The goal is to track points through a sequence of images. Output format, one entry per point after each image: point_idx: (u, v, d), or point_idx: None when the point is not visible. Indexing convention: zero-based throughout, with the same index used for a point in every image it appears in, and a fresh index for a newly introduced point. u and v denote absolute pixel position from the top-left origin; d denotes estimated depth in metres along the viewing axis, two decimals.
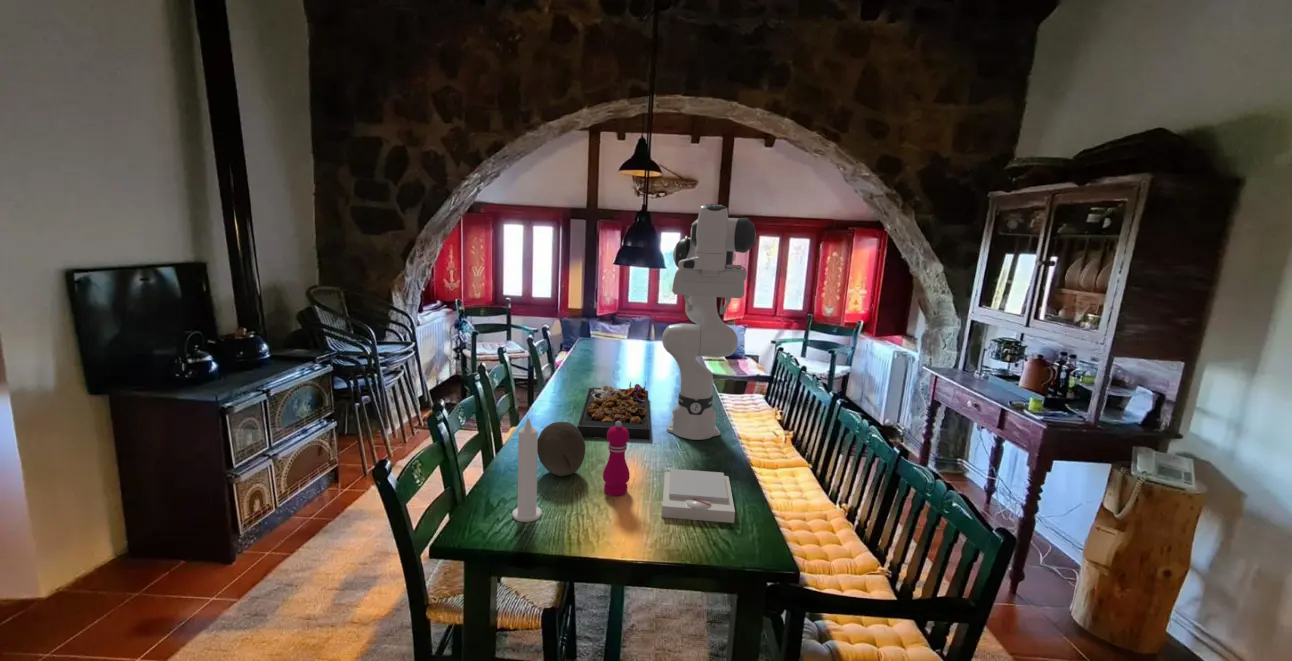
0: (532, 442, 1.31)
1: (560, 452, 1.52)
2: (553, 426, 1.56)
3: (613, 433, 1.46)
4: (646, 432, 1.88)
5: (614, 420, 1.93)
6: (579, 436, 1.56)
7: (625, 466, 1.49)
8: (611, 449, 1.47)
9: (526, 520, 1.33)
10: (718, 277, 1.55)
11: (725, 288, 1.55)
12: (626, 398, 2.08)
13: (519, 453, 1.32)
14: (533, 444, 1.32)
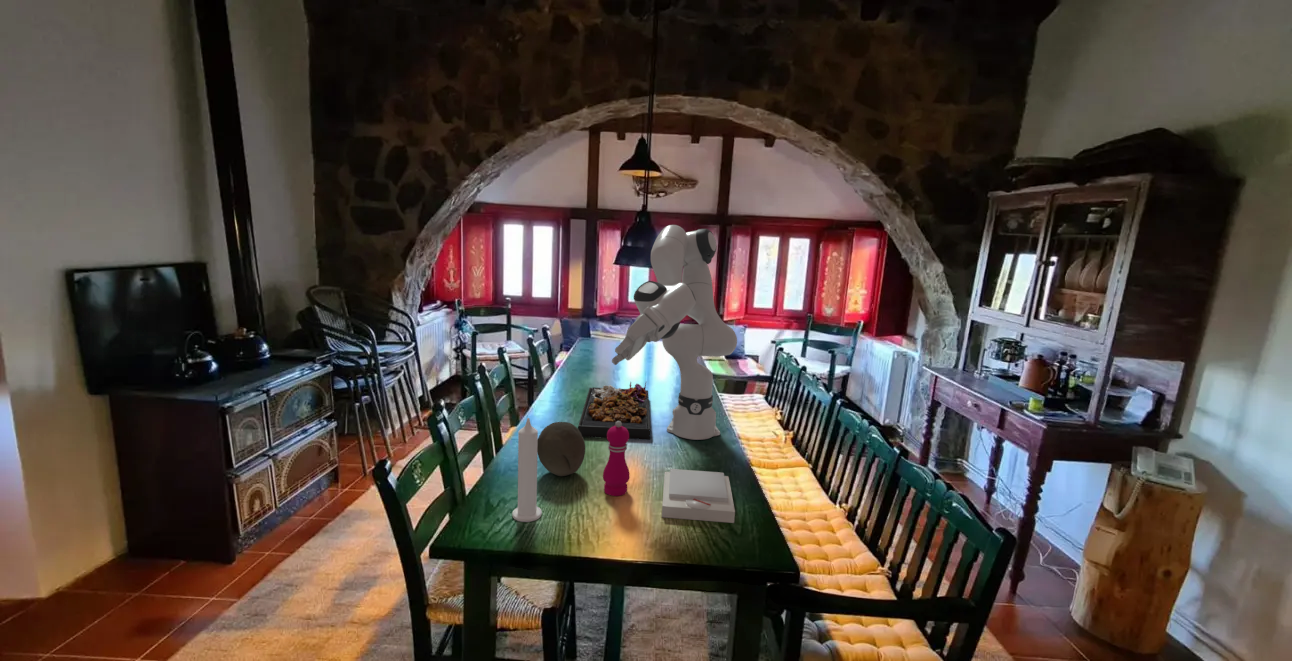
0: (532, 442, 1.31)
1: (560, 452, 1.52)
2: (553, 426, 1.56)
3: (613, 433, 1.46)
4: (647, 432, 1.88)
5: (614, 420, 1.93)
6: (579, 436, 1.56)
7: (625, 466, 1.49)
8: (611, 449, 1.47)
9: (526, 520, 1.33)
10: (644, 341, 1.56)
11: (636, 350, 1.57)
12: (626, 398, 2.08)
13: (519, 453, 1.32)
14: (533, 444, 1.32)
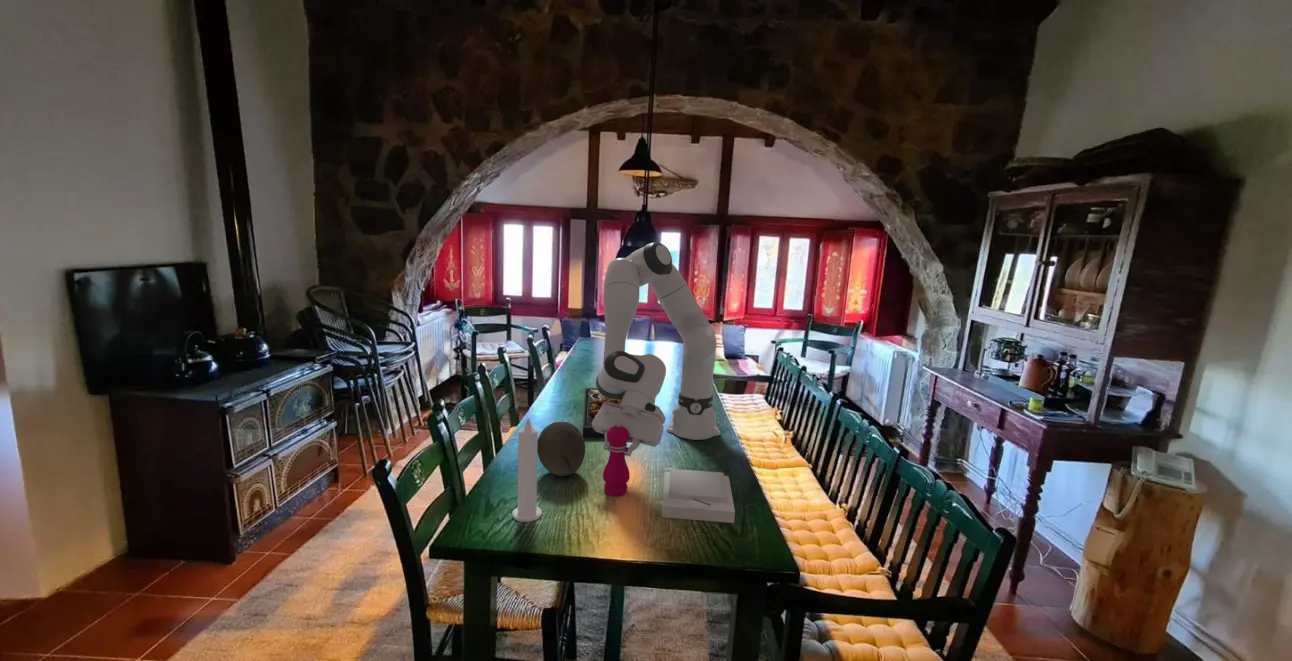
0: (532, 442, 1.31)
1: (560, 452, 1.52)
2: (553, 426, 1.56)
3: (613, 433, 1.46)
4: None
5: None
6: (579, 436, 1.56)
7: (625, 466, 1.49)
8: (611, 449, 1.47)
9: (526, 520, 1.33)
10: None
11: None
12: None
13: (519, 453, 1.32)
14: (533, 444, 1.32)
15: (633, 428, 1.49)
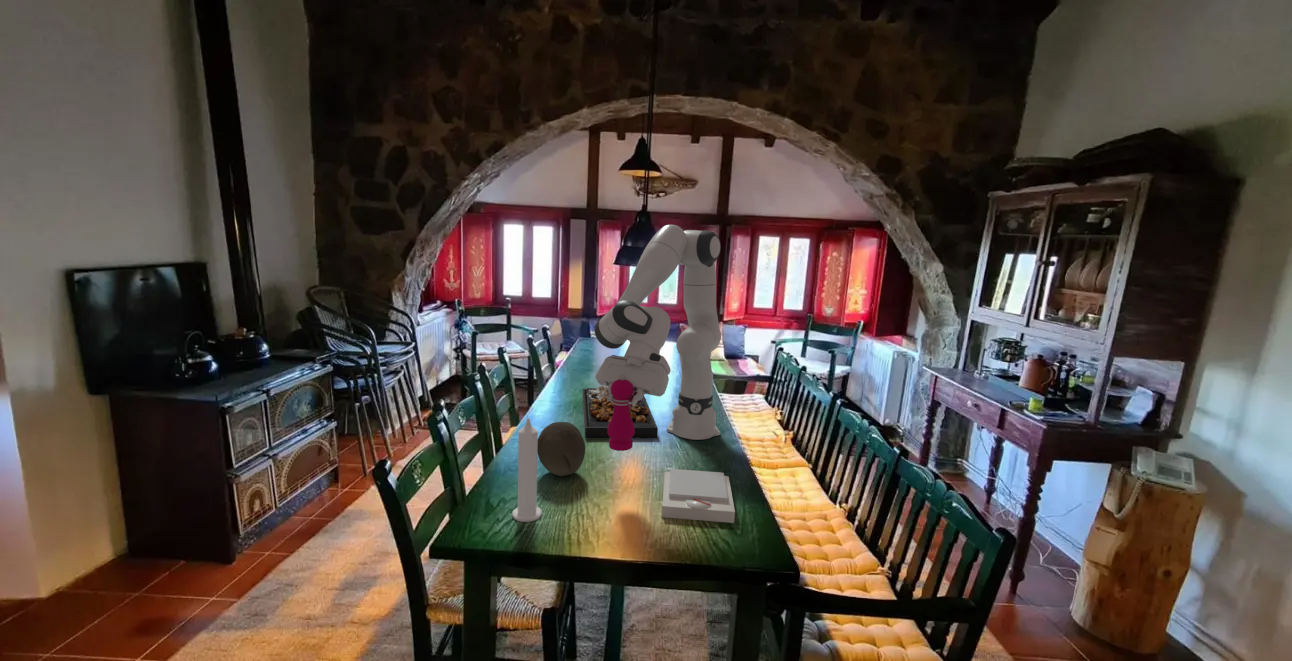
0: (532, 442, 1.31)
1: (560, 452, 1.52)
2: (553, 426, 1.56)
3: (617, 386, 1.43)
4: (654, 430, 1.90)
5: None
6: (579, 436, 1.56)
7: (630, 420, 1.46)
8: (615, 403, 1.45)
9: (526, 520, 1.33)
10: None
11: None
12: None
13: (519, 453, 1.32)
14: (533, 444, 1.32)
15: (637, 378, 1.47)
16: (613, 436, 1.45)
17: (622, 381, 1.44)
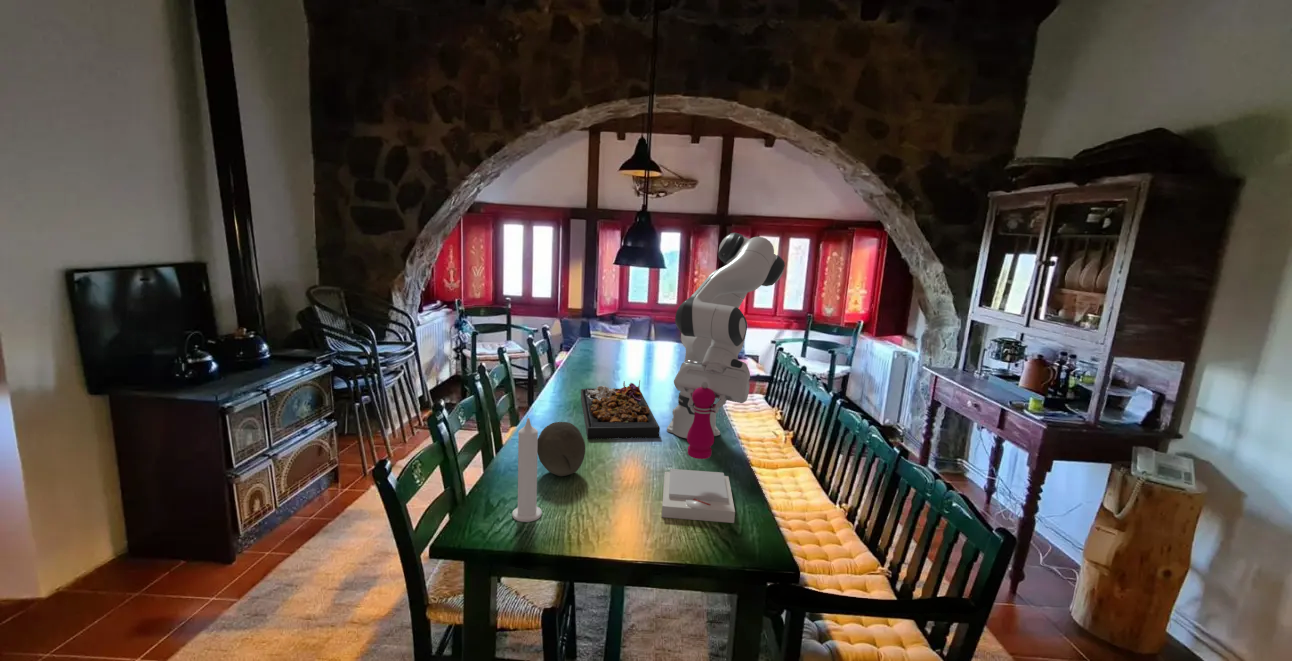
0: (532, 442, 1.31)
1: (560, 452, 1.52)
2: (553, 426, 1.56)
3: (700, 394, 1.42)
4: (656, 430, 1.90)
5: (622, 420, 1.93)
6: (579, 436, 1.56)
7: (710, 428, 1.46)
8: (697, 411, 1.44)
9: (526, 520, 1.33)
10: None
11: None
12: (627, 397, 2.09)
13: (519, 453, 1.32)
14: (533, 444, 1.32)
15: (719, 384, 1.46)
16: (694, 444, 1.44)
17: (705, 389, 1.43)
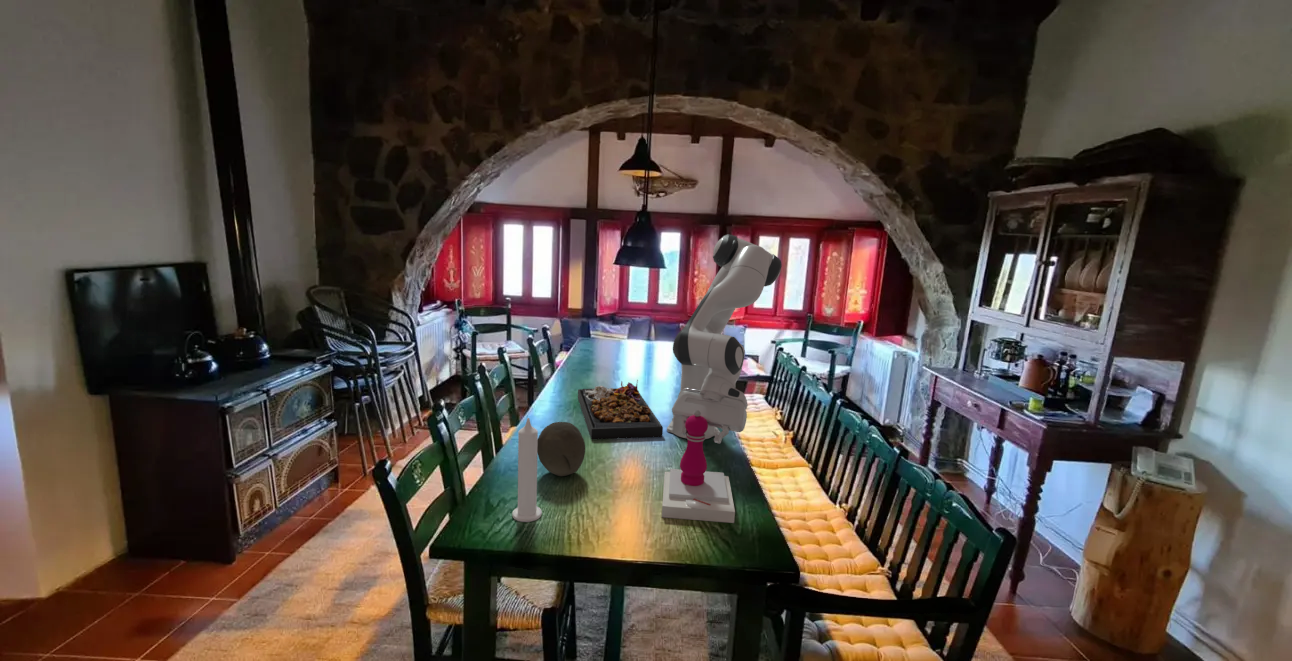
0: (532, 442, 1.31)
1: (560, 452, 1.52)
2: (553, 426, 1.56)
3: (693, 422, 1.45)
4: (659, 430, 1.91)
5: (625, 420, 1.93)
6: (579, 436, 1.56)
7: (703, 456, 1.48)
8: (690, 439, 1.46)
9: (526, 520, 1.33)
10: None
11: None
12: (627, 397, 2.09)
13: (519, 453, 1.32)
14: (533, 444, 1.32)
15: (716, 413, 1.47)
16: (687, 471, 1.46)
17: (697, 418, 1.46)
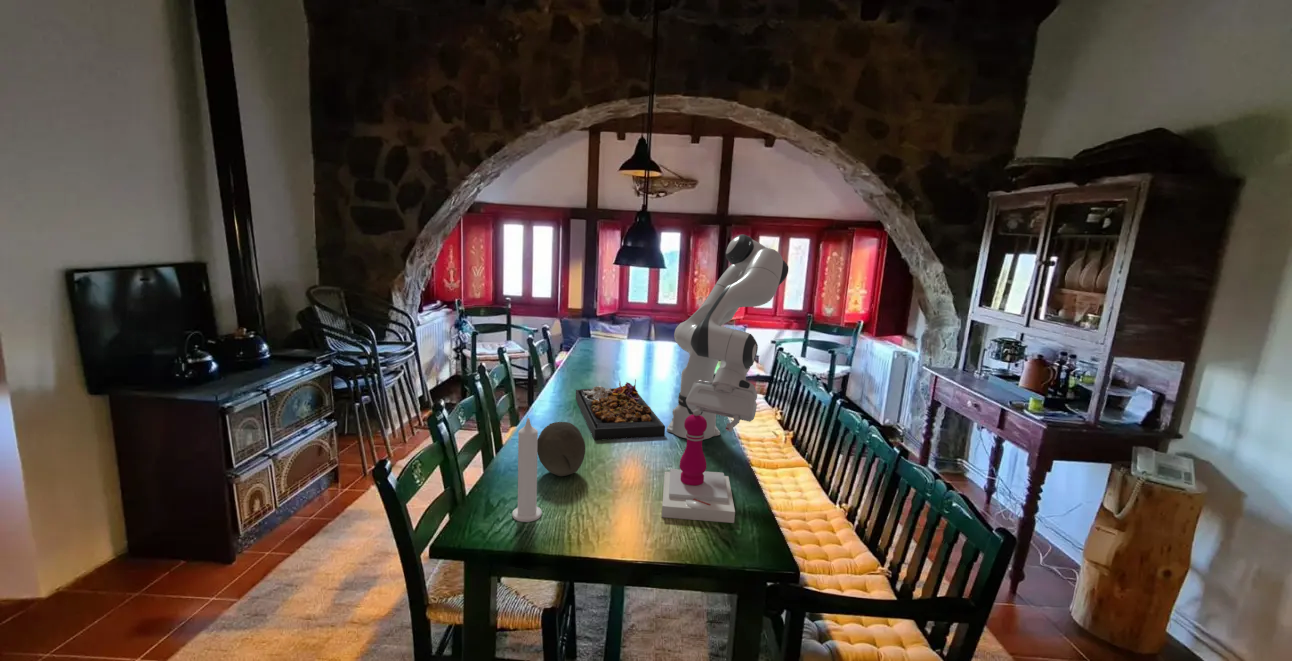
0: (532, 442, 1.31)
1: (560, 452, 1.52)
2: (553, 426, 1.56)
3: (692, 422, 1.45)
4: (661, 429, 1.92)
5: (627, 420, 1.93)
6: (579, 436, 1.56)
7: (703, 455, 1.48)
8: (689, 438, 1.46)
9: (526, 520, 1.33)
10: None
11: None
12: (627, 397, 2.09)
13: (519, 453, 1.32)
14: (533, 444, 1.32)
15: (728, 404, 1.56)
16: (686, 471, 1.47)
17: (697, 417, 1.46)
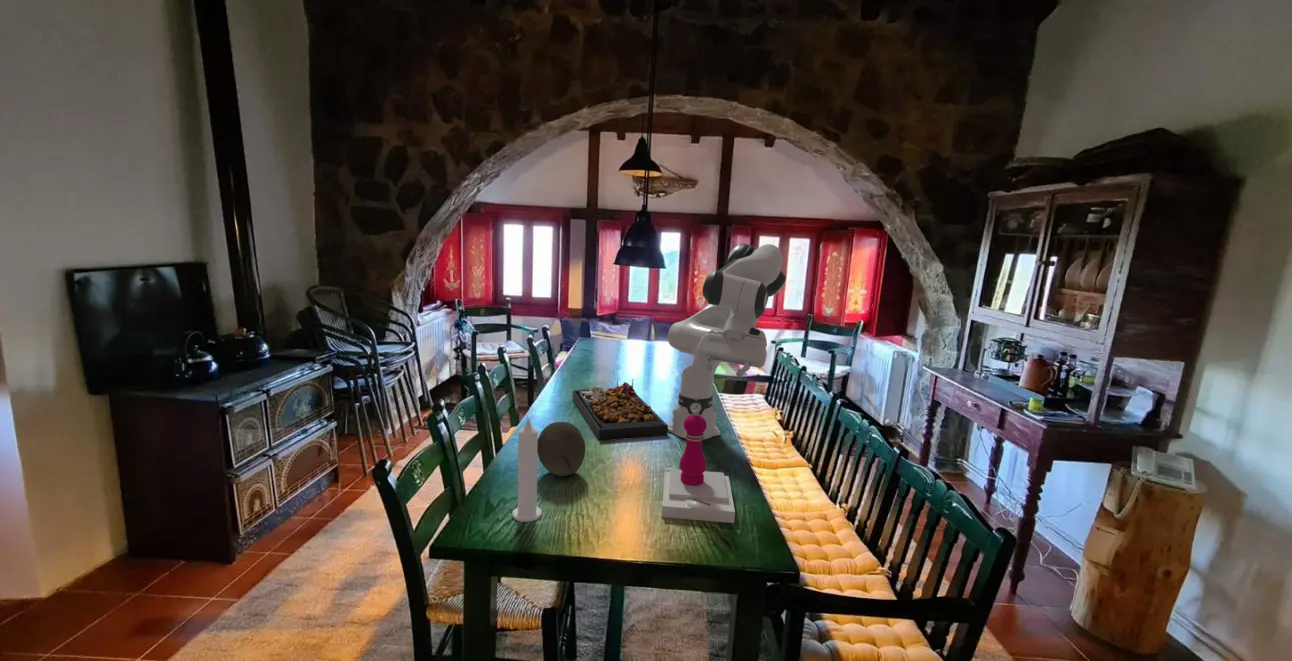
0: (532, 442, 1.31)
1: (560, 452, 1.52)
2: (553, 426, 1.56)
3: (691, 422, 1.45)
4: (664, 428, 1.93)
5: (629, 420, 1.94)
6: (579, 436, 1.56)
7: (702, 455, 1.48)
8: (689, 438, 1.46)
9: (526, 520, 1.33)
10: None
11: None
12: (627, 397, 2.09)
13: (519, 453, 1.32)
14: (533, 444, 1.32)
15: (738, 351, 1.58)
16: (686, 471, 1.47)
17: (696, 417, 1.46)
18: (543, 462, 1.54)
